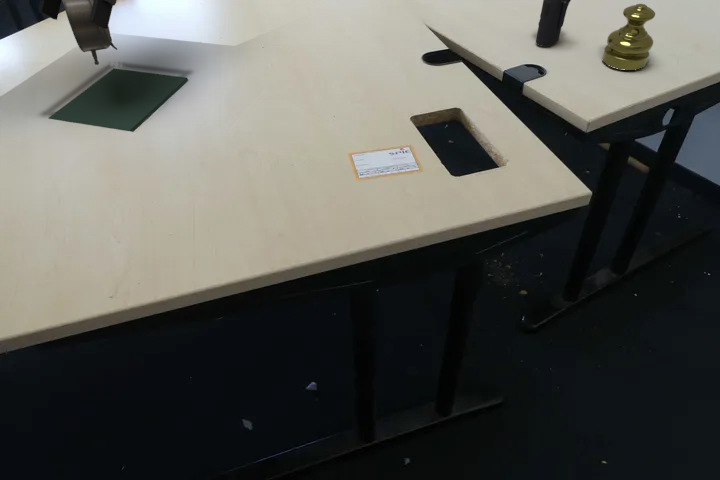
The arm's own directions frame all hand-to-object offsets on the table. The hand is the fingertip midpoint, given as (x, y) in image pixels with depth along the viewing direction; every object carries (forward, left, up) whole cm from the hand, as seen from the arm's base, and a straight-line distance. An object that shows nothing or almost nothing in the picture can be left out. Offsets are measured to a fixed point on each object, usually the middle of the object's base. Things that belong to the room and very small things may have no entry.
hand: (72, 20), depth 81 cm
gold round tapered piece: (+83, +36, -15) cm, 92 cm away
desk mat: (0, +3, -15) cm, 15 cm away
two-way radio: (+70, +41, -15) cm, 83 cm away
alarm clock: (0, +3, -7) cm, 7 cm away
